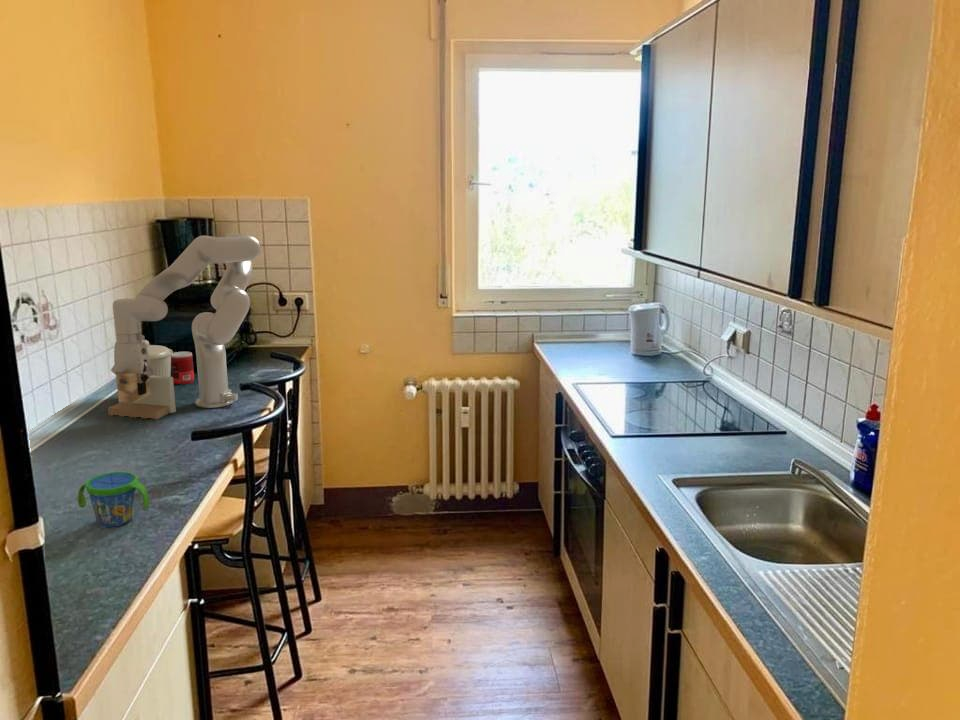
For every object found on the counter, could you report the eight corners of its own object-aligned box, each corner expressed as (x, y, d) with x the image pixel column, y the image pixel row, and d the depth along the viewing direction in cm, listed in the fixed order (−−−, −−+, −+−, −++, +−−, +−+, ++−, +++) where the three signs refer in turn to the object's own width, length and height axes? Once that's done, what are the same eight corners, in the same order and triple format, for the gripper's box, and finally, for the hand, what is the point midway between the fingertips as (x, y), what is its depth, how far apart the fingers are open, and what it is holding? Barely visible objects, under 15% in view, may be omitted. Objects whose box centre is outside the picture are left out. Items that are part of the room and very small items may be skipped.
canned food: (198, 379, 292) (195, 351, 289) (188, 385, 284) (185, 356, 282) (178, 378, 293) (176, 351, 290) (168, 384, 285) (166, 356, 282)
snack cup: (160, 514, 179) (156, 473, 176) (133, 534, 169) (129, 492, 166) (99, 508, 181) (94, 469, 179) (70, 528, 171) (64, 486, 169)
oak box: (150, 394, 249) (148, 368, 246) (131, 403, 239) (128, 375, 237) (137, 393, 250) (134, 367, 247) (117, 401, 240) (114, 374, 238)
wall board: (176, 411, 253) (172, 377, 250) (160, 419, 245) (156, 383, 242) (123, 407, 258) (119, 373, 255) (106, 414, 250) (102, 379, 247)
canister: (186, 392, 275) (180, 335, 270) (160, 407, 258) (154, 346, 253) (138, 390, 277) (132, 333, 272) (110, 405, 260) (103, 345, 255)
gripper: (160, 337, 242) (165, 392, 246) (113, 334, 245) (119, 388, 250) (145, 342, 235) (150, 398, 239) (97, 339, 238) (103, 394, 243)
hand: (134, 392), depth 244 cm, fingers closed on oak box, 5 cm apart
